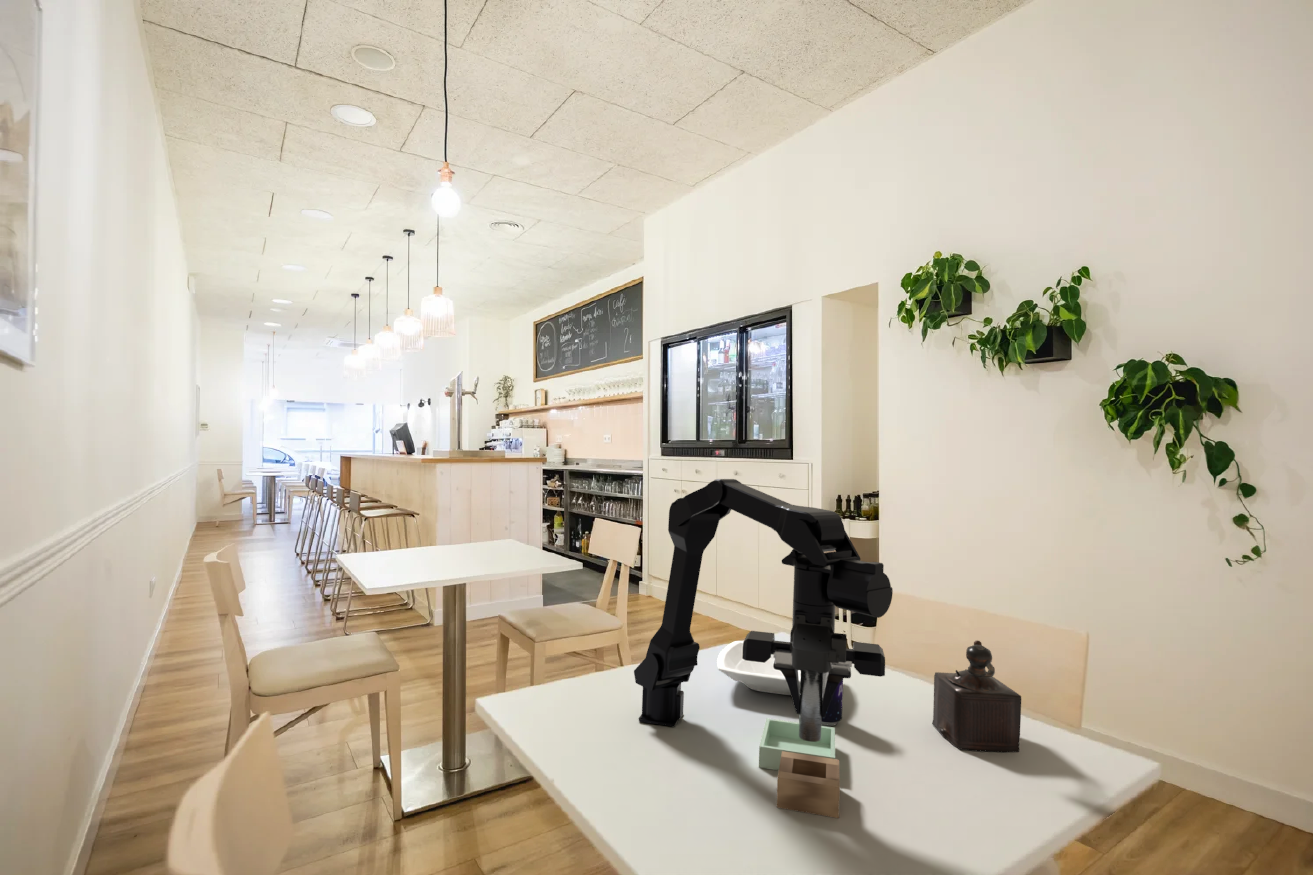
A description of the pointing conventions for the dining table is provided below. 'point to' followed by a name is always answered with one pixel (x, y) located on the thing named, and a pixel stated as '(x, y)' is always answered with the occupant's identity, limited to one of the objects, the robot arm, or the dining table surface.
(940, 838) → the dining table surface
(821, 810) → the brown square sleeve
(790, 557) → the robot arm
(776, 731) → the tray
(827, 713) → the beverage can
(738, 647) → the bowl
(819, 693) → the cylinder
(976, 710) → the dark brown ornamental box
